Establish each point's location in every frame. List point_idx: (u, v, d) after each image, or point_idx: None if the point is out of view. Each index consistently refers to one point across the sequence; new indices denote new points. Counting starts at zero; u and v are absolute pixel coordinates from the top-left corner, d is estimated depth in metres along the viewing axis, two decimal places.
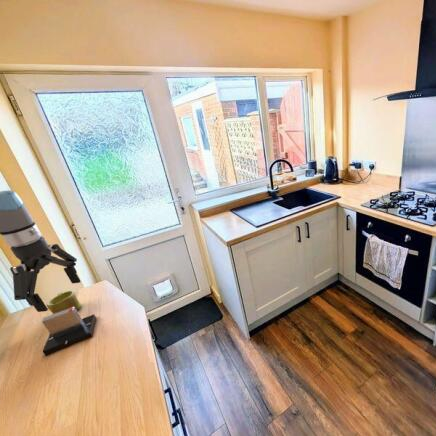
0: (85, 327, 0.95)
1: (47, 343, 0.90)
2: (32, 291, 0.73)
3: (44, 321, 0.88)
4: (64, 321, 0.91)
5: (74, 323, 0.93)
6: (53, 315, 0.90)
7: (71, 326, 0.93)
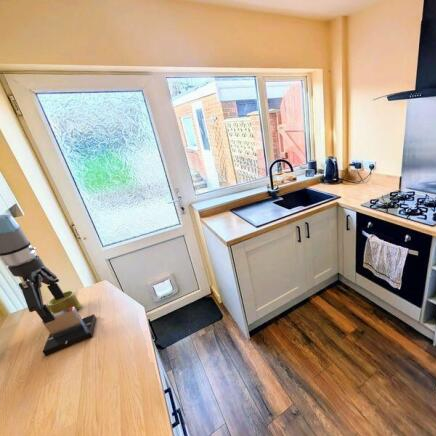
0: (85, 327, 0.95)
1: (47, 343, 0.90)
2: (42, 302, 0.81)
3: None
4: (64, 321, 0.91)
5: (74, 323, 0.93)
6: (53, 315, 0.90)
7: (71, 326, 0.93)
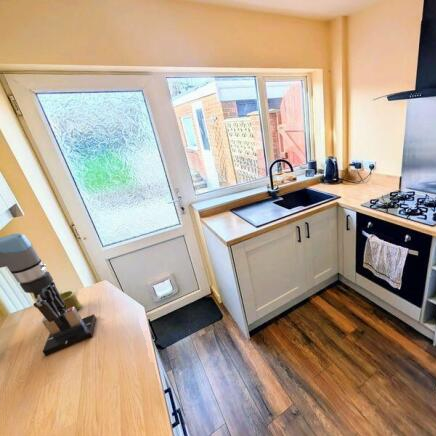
0: (85, 327, 0.95)
1: (47, 343, 0.90)
2: (58, 313, 0.88)
3: (44, 321, 0.88)
4: None
5: (74, 323, 0.93)
6: None
7: (71, 326, 0.93)
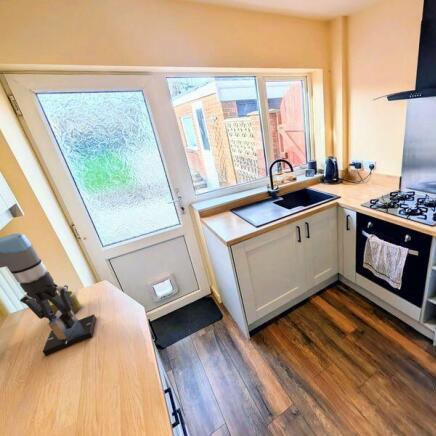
0: (85, 327, 0.95)
1: (47, 343, 0.90)
2: None
3: (56, 321, 0.87)
4: None
5: (73, 318, 0.95)
6: (55, 316, 0.89)
7: None
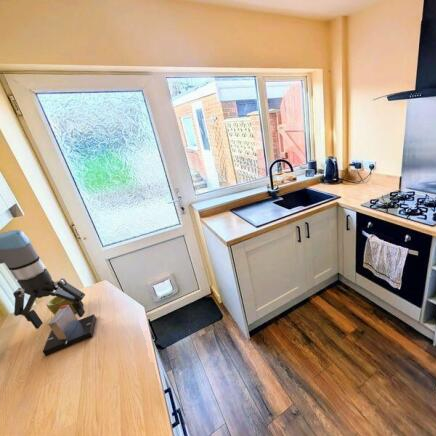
0: (85, 327, 0.95)
1: (47, 343, 0.90)
2: None
3: (56, 321, 0.87)
4: (67, 317, 0.92)
5: (73, 318, 0.95)
6: (55, 316, 0.89)
7: (72, 322, 0.95)
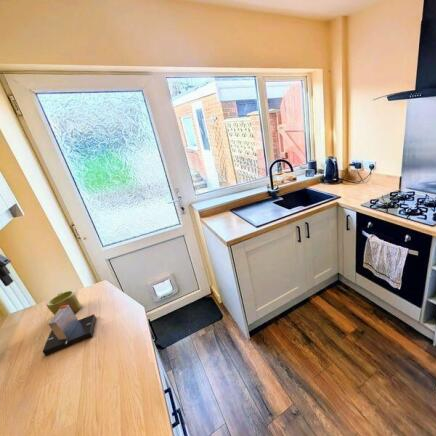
0: (85, 327, 0.95)
1: (47, 343, 0.90)
2: None
3: (56, 321, 0.87)
4: (67, 317, 0.92)
5: (73, 318, 0.95)
6: (55, 316, 0.89)
7: (72, 322, 0.95)
